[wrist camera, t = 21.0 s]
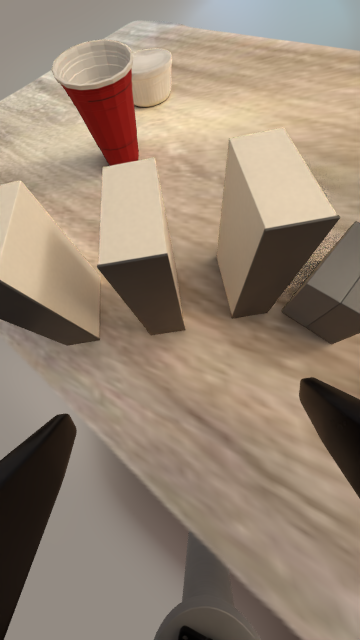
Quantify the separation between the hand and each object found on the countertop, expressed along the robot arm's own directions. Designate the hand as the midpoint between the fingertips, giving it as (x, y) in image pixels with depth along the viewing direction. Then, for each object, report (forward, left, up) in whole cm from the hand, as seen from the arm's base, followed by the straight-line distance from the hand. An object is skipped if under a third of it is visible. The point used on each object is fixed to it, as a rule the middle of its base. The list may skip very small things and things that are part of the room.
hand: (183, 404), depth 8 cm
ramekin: (+58, +26, -14) cm, 65 cm away
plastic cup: (+36, +23, -14) cm, 45 cm away
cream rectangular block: (+10, +7, -14) cm, 18 cm away
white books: (+11, +7, -14) cm, 19 cm away
